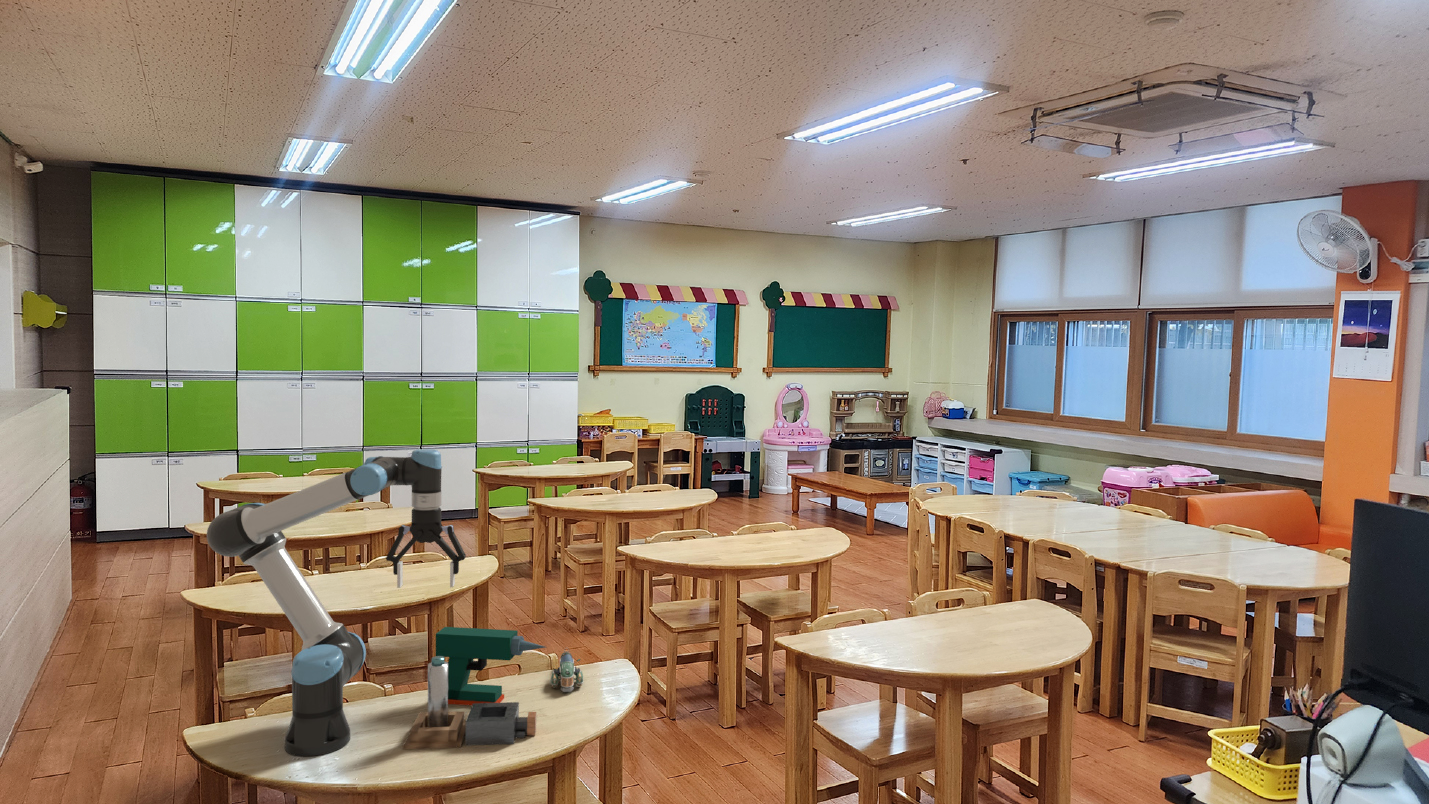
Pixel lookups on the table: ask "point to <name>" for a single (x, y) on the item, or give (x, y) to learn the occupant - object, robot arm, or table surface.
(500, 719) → the socket block
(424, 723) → the frame
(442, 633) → the power tool
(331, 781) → the table surface
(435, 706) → the peg
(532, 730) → the block
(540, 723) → the table surface
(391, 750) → the table surface
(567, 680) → the hoverbike
